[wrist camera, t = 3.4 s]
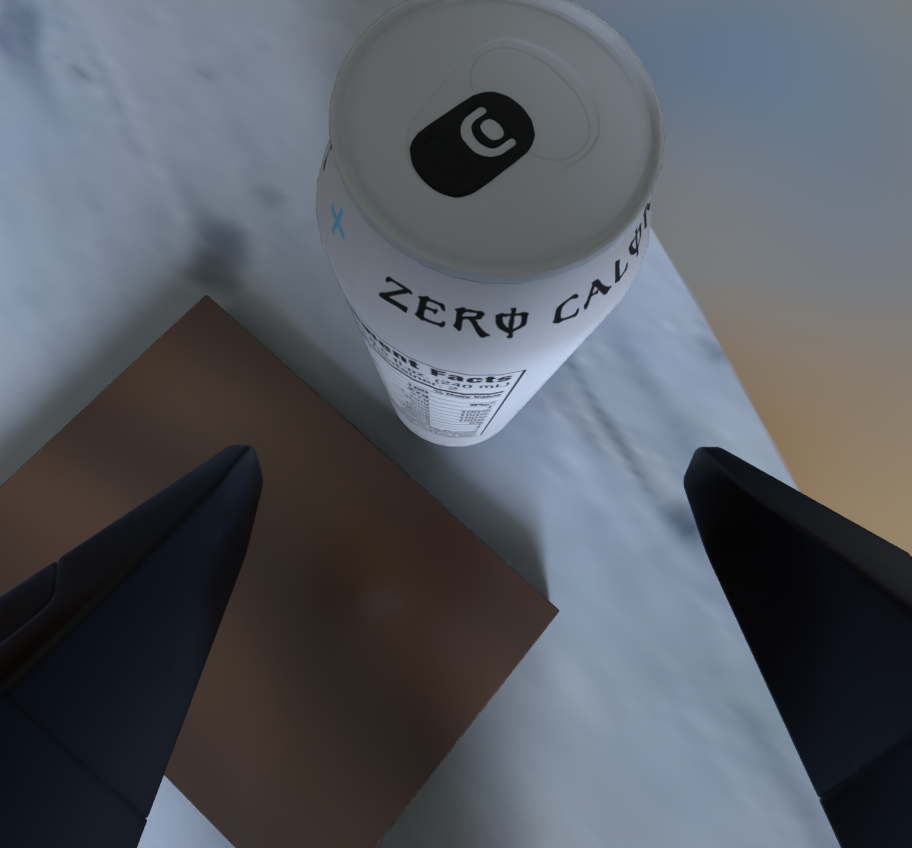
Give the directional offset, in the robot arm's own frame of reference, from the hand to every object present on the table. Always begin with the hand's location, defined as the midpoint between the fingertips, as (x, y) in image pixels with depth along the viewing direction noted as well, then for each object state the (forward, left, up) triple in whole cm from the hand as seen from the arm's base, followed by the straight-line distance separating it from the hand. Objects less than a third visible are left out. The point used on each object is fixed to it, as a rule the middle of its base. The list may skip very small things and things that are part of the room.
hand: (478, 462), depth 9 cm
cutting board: (-8, +4, -11) cm, 14 cm away
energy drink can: (+3, +3, -11) cm, 12 cm away
